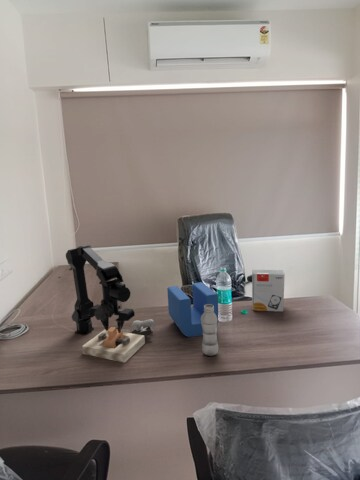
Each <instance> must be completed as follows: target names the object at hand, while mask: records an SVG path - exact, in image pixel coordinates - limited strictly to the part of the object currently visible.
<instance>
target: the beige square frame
mask: <svg viewBox="0 0 360 480" xmlns="http://www.w3.org/2000/svg"><path fill="white" fill-rule="evenodd" d="M109 329H110V328H108V330H109ZM108 330H107V331H108ZM107 331H106V330H105V329H103V330H102V331H101V332H100V333H98V334H97V335H95V336H94V337H92V339H90V340H89V341H87V342H86V343H84V344H83V345H82V346H81V347H82V354H83V355H87V356H91V357H97V358H101V359H106V360H111V361H116V362H118V363H119V362H120V363H126V362H127V361H128V360H130V358H131V357H132V356H133V355H135V354H136V352H138V351H139V350H140V349H141V348H142V347H143V346H144V345H145V344H146V336H144V335H138V334H134V333H132V332H127V331H123V336H124V339H120V338H118V339H117V340H116V341H115V342H117V343H120V344H118V345H116V348H115V349H114V348H108V347H105V344H104V340H105V339H106V337H107V336H108V332H107Z"/></svg>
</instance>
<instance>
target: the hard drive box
mask: <svg viewBox="0 0 360 480" xmlns="http://www.w3.org/2000/svg"><path fill="white" fill-rule="evenodd" d="M251 272H252V273H251V275H252V276H251V277H252V278H251V279H252V281H251V307H252V308H251V310H252V311H258V312H276V313H277V312H283V313H284V301H285V298H284V297H285V272H284V270H281V269H278V270H277V269H252V271H251Z"/></svg>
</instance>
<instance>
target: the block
mask: <svg viewBox="0 0 360 480" xmlns="http://www.w3.org/2000/svg"><path fill="white" fill-rule="evenodd" d="M191 301H192V302H191ZM208 304H210V305H213V306H214V311H213V312H214V313H215V315H216V316H217V319H218V320H217V326H218V325H219V294H218V293H216V292H215V291H214V290H212V289H211V288H210V287H209V286H207V285H206V284H205V283H203V282H202V281H200V282H195V283H192V300H191V298H190V297H189V296H188V295H187V294H186V293H185V292H184V291H183V290H182V289H181V288H180V287H178V285H173V286H168V287H167V307H168V315H169V316H170V318H171V320H172V321H173V322H174V323H175V325H176V326H177V327H178V329H179V330H180V332H181V333H182V334H183V335H185V336H186V337H189V338H193V337H199V336H203V330H202V324H201V316H202V315H203V313H204V312H205V311H204V306H205V305H208ZM192 305H193V306H192Z"/></svg>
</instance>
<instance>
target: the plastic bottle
mask: <svg viewBox="0 0 360 480" xmlns="http://www.w3.org/2000/svg"><path fill="white" fill-rule="evenodd" d="M204 311H205V312H204V313H203V315H202V316H201V324H202V330H203V335H202V344H201V350H202V353H203V354H204V355H205V356H208V357H212V356H216V355H217V354H218V352H219V348H220V347H219V343H218V336H217V335H218V334H217V333H218V332H217V331H218V330H217V328H218V325H217V320H218V321H219V318H218V319H217V316H216V315H215V313H214V312H213V311H214V306H213V305H210V304H208V305H205V306H204Z"/></svg>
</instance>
